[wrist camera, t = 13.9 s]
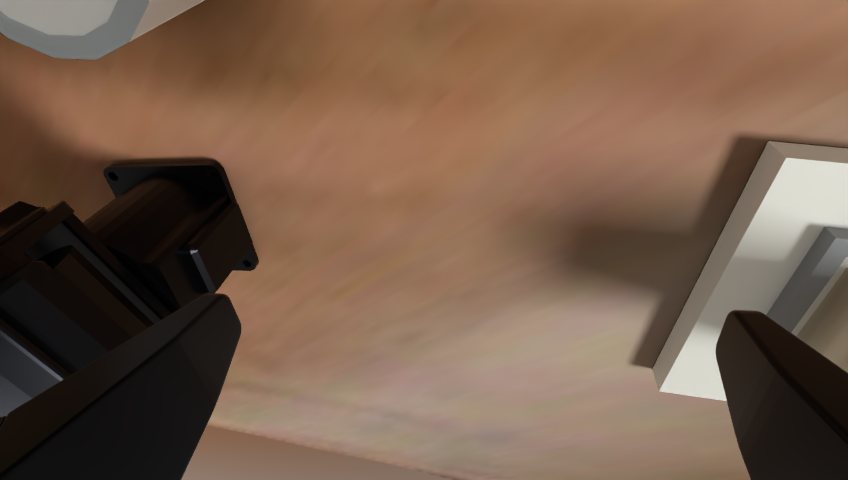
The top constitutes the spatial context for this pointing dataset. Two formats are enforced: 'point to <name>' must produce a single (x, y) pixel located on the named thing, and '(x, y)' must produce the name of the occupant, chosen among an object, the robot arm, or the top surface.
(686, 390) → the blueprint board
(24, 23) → the white cup
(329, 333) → the top surface
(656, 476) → the top surface
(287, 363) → the top surface
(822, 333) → the maple pillar
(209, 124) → the top surface
